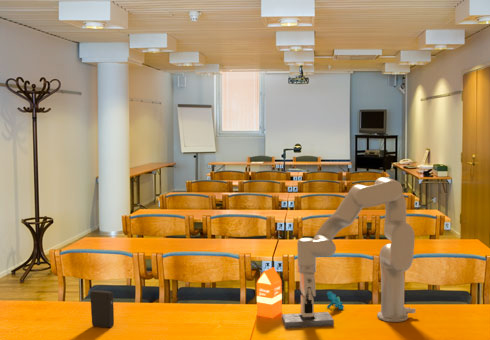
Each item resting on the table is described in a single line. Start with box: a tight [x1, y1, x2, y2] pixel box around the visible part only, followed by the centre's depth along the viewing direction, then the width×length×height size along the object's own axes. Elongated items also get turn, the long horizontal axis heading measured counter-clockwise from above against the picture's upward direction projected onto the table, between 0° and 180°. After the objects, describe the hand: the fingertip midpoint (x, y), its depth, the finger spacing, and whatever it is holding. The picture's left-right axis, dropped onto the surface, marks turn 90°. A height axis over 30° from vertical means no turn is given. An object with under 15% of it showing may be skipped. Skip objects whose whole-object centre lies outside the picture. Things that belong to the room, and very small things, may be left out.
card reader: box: [90, 289, 115, 328], centre depth 252 cm, size 9×4×15 cm, turn 71°
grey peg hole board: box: [281, 311, 335, 329], centre depth 251 cm, size 20×10×2 cm, turn 95°
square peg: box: [300, 294, 315, 317], centre depth 251 cm, size 4×4×8 cm
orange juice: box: [256, 266, 283, 319], centre depth 263 cm, size 8×9×20 cm
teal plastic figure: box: [326, 291, 345, 311], centre depth 270 cm, size 11×6×10 cm
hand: (307, 310), depth 251 cm, fingers closed on square peg, 4 cm apart
